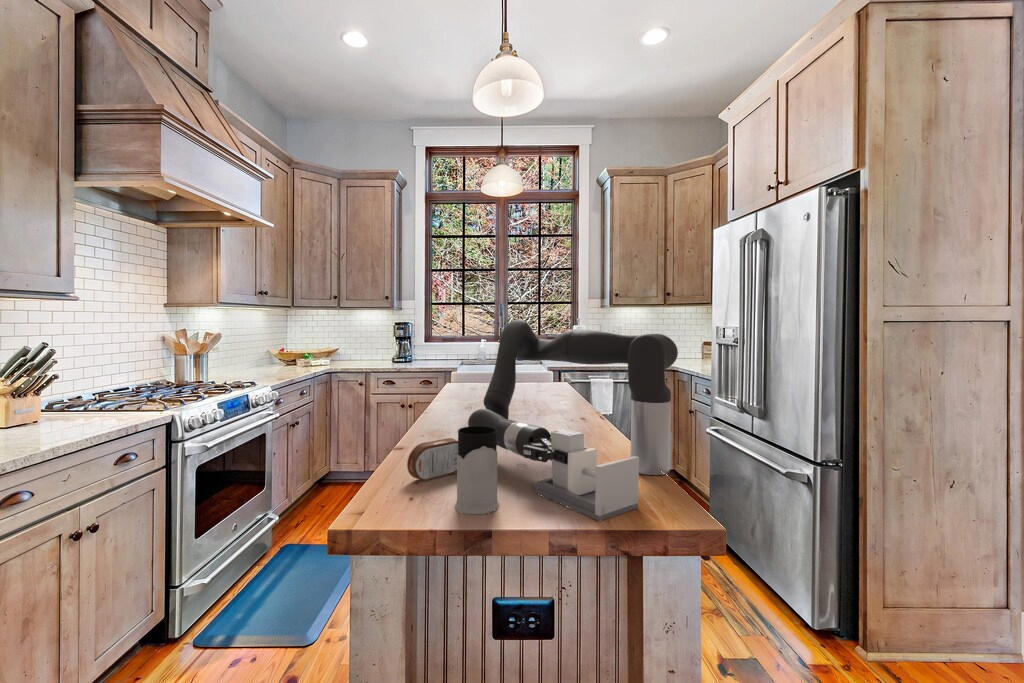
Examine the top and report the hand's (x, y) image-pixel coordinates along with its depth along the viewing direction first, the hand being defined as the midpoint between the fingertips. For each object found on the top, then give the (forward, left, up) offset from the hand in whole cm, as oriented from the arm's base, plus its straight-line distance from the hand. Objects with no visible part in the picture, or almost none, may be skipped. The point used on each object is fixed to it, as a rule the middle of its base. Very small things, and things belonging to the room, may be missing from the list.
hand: (579, 457), depth 101 cm
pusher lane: (0, +2, -8) cm, 9 cm away
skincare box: (0, -3, -8) cm, 8 cm away
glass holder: (+18, -11, -9) cm, 23 cm away
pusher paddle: (0, +3, -7) cm, 8 cm away
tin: (+16, -29, -9) cm, 35 cm away
